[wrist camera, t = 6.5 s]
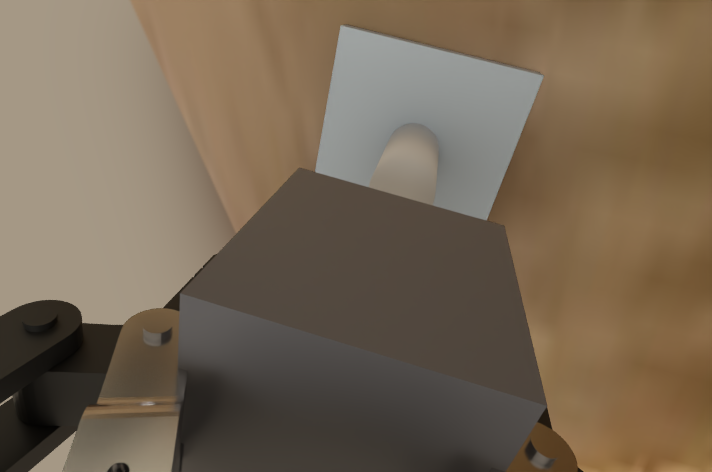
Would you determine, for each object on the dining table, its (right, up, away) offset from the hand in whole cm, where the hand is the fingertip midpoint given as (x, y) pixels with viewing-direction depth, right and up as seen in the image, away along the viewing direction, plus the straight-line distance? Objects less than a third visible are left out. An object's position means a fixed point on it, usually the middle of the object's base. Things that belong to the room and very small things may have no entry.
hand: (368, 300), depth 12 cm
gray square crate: (0, 0, +1) cm, 1 cm away
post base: (+3, +8, +15) cm, 17 cm away
